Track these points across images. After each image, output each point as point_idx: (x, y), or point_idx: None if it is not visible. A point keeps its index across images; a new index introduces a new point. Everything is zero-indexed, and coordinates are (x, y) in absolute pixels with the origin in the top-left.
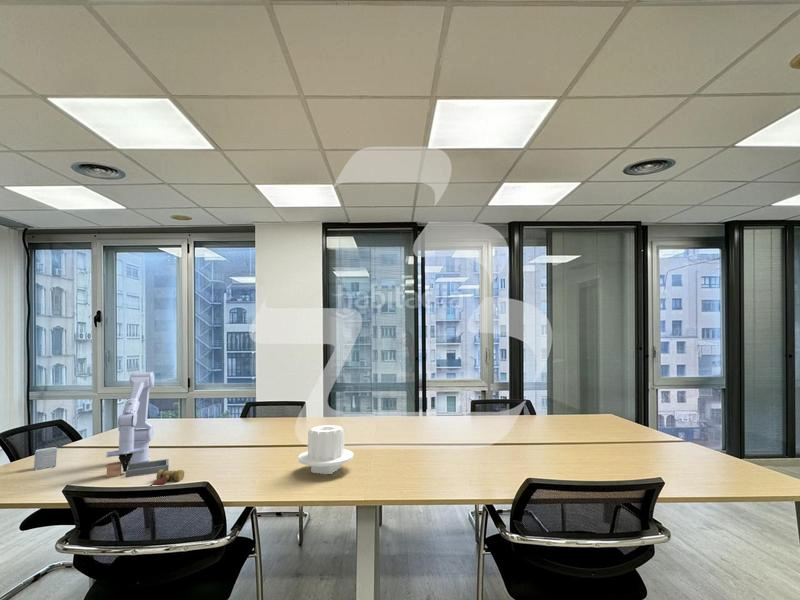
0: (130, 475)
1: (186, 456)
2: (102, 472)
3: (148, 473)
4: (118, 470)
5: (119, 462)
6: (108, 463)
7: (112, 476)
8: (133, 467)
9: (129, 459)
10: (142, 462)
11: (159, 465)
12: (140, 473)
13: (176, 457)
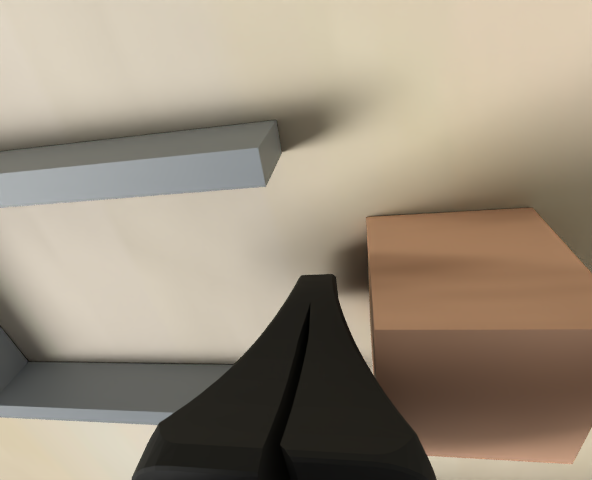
0: (216, 129)
1: (6, 462)
2: None
3: (24, 149)
4: (392, 259)
5: None
6: (575, 446)
7: (455, 212)
8: None
9: (210, 397)
10: None
11: (69, 365)
12: (98, 146)
13: (63, 470)
